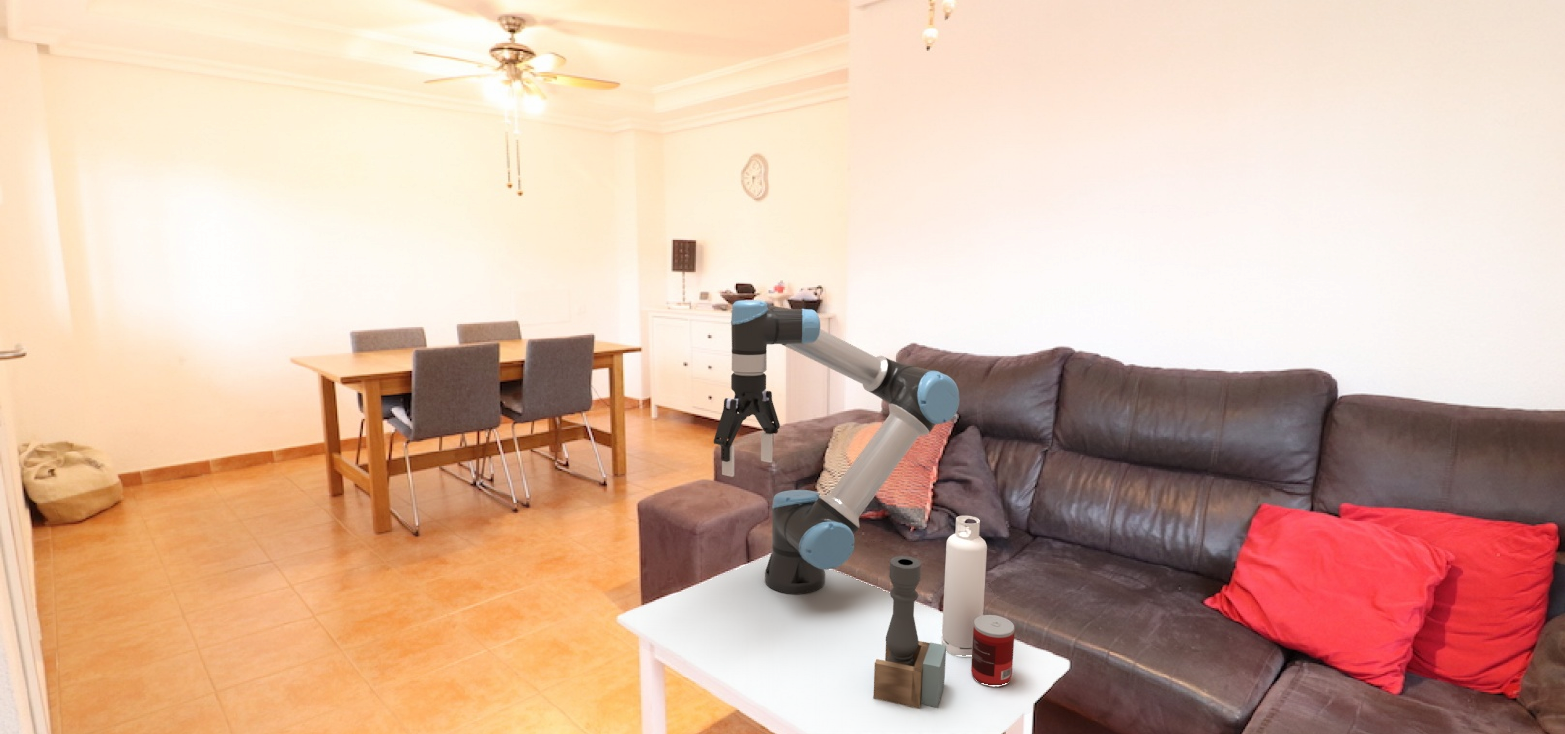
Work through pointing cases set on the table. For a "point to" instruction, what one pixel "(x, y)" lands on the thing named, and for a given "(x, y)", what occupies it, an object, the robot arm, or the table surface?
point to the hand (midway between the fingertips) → (748, 468)
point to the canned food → (992, 649)
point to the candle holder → (903, 610)
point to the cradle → (900, 679)
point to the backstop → (933, 675)
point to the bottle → (963, 586)
